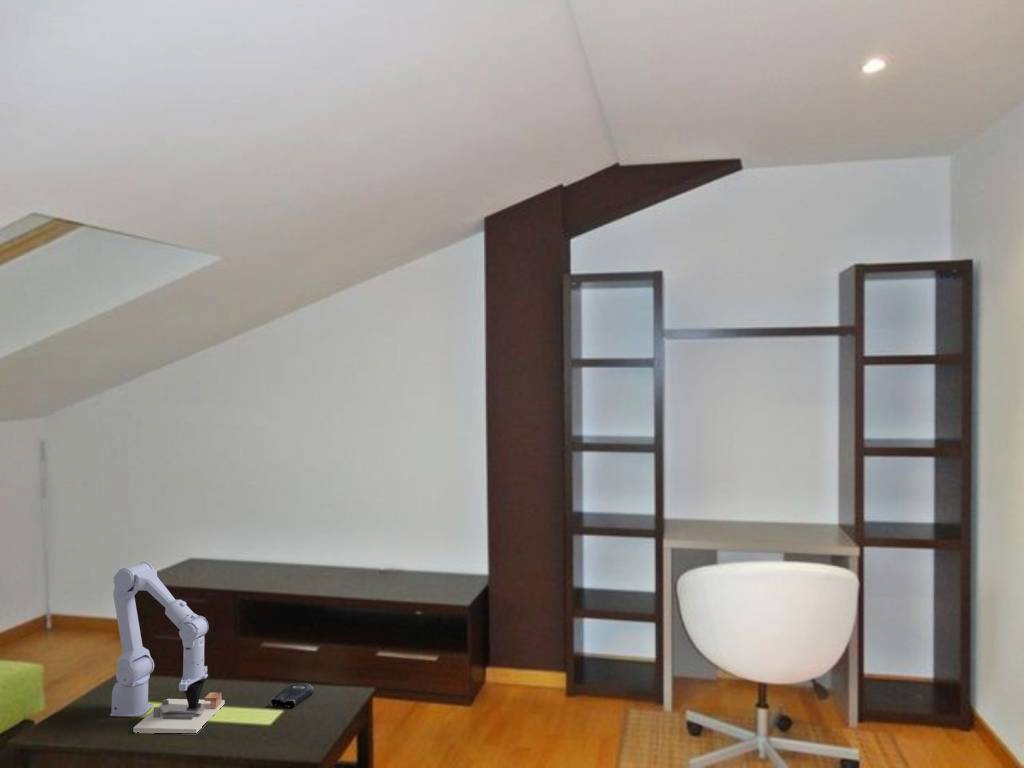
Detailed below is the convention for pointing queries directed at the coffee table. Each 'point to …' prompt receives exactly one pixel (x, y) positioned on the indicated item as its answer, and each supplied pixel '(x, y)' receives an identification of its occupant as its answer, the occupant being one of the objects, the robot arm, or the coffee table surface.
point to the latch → (214, 699)
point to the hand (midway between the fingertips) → (193, 705)
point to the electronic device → (293, 694)
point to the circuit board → (176, 719)
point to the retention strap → (182, 708)
